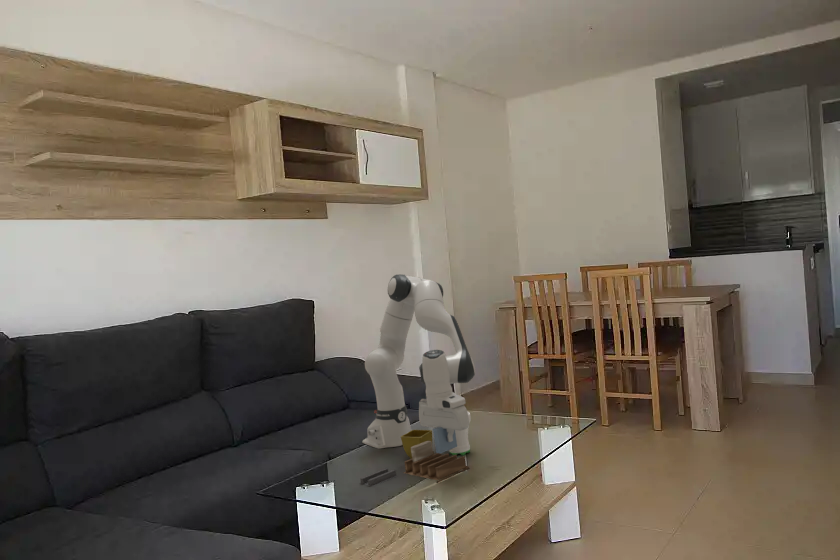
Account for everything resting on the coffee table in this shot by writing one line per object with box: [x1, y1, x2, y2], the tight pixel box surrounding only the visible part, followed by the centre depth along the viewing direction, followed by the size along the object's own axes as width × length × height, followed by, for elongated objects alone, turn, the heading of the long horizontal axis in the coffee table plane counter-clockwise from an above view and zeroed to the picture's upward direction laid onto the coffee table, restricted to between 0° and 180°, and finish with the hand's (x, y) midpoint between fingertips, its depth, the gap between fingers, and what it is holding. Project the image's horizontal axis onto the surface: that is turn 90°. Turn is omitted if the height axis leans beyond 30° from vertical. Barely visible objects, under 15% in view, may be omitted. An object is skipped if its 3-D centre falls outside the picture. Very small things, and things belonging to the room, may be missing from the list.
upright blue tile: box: [432, 427, 457, 454], centre depth 223 cm, size 2×8×8 cm, turn 134°
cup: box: [448, 410, 472, 456], centre depth 245 cm, size 11×11×14 cm
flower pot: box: [401, 429, 433, 459], centre depth 246 cm, size 9×9×9 cm
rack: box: [402, 440, 470, 484], centre depth 227 cm, size 17×15×9 cm
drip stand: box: [359, 467, 398, 488], centre depth 224 cm, size 7×11×3 cm, turn 133°
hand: (446, 441), depth 223 cm, fingers closed on upright blue tile, 2 cm apart
